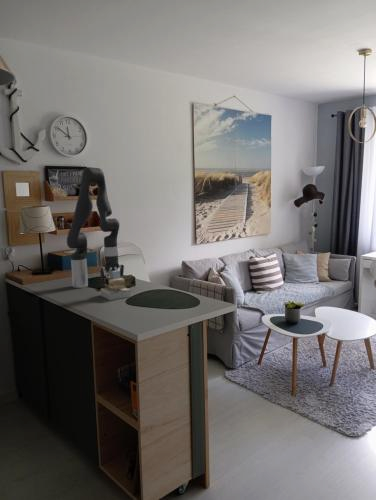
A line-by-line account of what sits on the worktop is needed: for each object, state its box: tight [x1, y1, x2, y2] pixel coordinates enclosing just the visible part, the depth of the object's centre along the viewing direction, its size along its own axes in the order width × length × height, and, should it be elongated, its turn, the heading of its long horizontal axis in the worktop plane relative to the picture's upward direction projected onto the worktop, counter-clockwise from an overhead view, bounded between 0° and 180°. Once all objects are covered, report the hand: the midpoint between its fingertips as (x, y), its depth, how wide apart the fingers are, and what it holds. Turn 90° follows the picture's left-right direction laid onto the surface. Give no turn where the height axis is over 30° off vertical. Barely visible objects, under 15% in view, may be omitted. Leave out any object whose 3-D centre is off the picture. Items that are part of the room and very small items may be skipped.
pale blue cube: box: [109, 269, 120, 279], centre depth 224 cm, size 4×4×4 cm
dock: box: [100, 287, 131, 301], centre depth 225 cm, size 13×12×4 cm
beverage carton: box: [102, 274, 137, 288], centre depth 248 cm, size 8×19×7 cm, turn 115°
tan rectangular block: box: [104, 275, 126, 290], centre depth 226 cm, size 14×6×5 cm, turn 34°
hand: (112, 284), depth 228 cm, fingers closed on tan rectangular block, 6 cm apart
